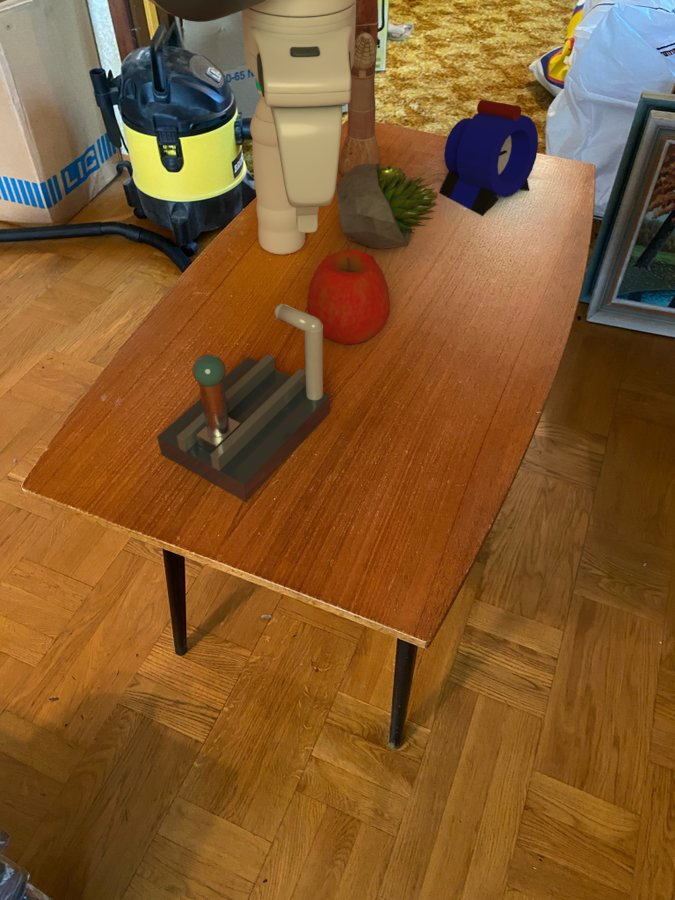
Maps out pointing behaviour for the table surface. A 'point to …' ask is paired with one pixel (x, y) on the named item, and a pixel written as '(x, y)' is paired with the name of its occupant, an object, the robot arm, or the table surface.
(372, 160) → the brown carved wooden post
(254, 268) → the table surface
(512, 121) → the alarm clock
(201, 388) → the tap handle
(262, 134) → the water bottle
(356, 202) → the potted plant
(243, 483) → the tap base
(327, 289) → the apple
